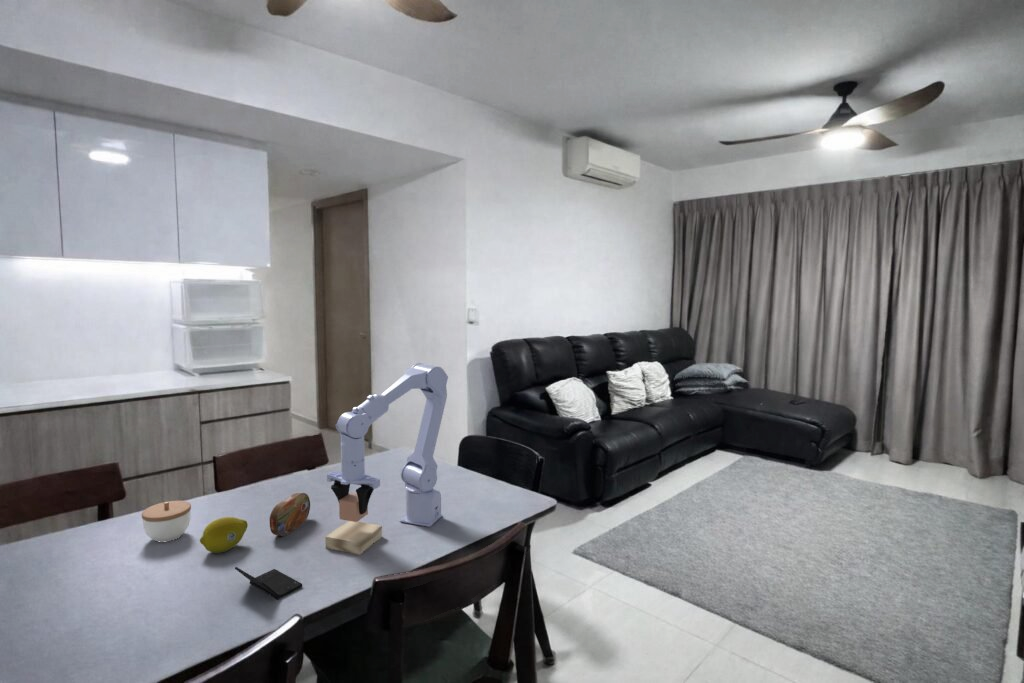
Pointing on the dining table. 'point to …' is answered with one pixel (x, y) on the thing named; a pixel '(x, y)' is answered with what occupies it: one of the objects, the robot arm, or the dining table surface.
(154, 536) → the lidded jar
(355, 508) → the terracotta cube
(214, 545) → the lemon
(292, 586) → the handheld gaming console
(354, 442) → the robot arm
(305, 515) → the tin
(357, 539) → the birch block
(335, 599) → the dining table surface
